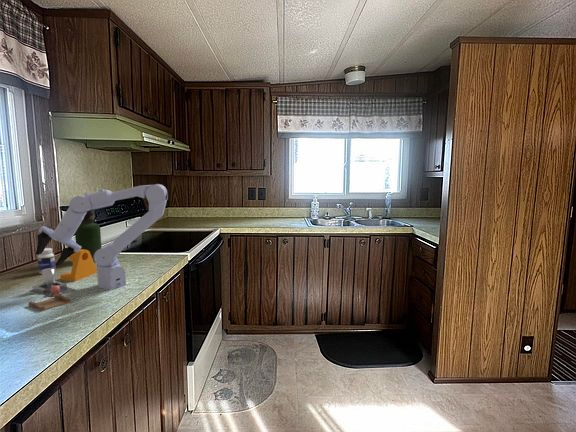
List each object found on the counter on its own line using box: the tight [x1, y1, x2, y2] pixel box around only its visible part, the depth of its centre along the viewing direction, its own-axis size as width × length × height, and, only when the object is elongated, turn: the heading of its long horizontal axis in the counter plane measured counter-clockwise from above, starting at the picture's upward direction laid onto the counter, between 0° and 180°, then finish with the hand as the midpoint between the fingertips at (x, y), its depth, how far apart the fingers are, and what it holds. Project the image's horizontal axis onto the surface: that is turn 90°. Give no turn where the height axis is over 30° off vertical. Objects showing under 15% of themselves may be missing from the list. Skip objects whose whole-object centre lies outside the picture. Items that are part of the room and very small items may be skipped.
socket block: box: [31, 280, 77, 299], centre depth 114 cm, size 14×8×2 cm, turn 61°
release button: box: [50, 285, 61, 296], centre depth 110 cm, size 2×2×2 cm
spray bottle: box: [74, 209, 103, 262], centre depth 155 cm, size 10×10×25 cm
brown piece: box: [27, 294, 71, 312], centre depth 102 cm, size 8×8×2 cm
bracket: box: [59, 249, 97, 282], centre depth 129 cm, size 11×7×12 cm, turn 169°
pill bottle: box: [37, 247, 56, 275], centre depth 137 cm, size 6×6×10 cm
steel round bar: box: [41, 267, 57, 289], centre depth 115 cm, size 4×4×7 cm
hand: (48, 259), depth 114 cm, fingers open, 7 cm apart
